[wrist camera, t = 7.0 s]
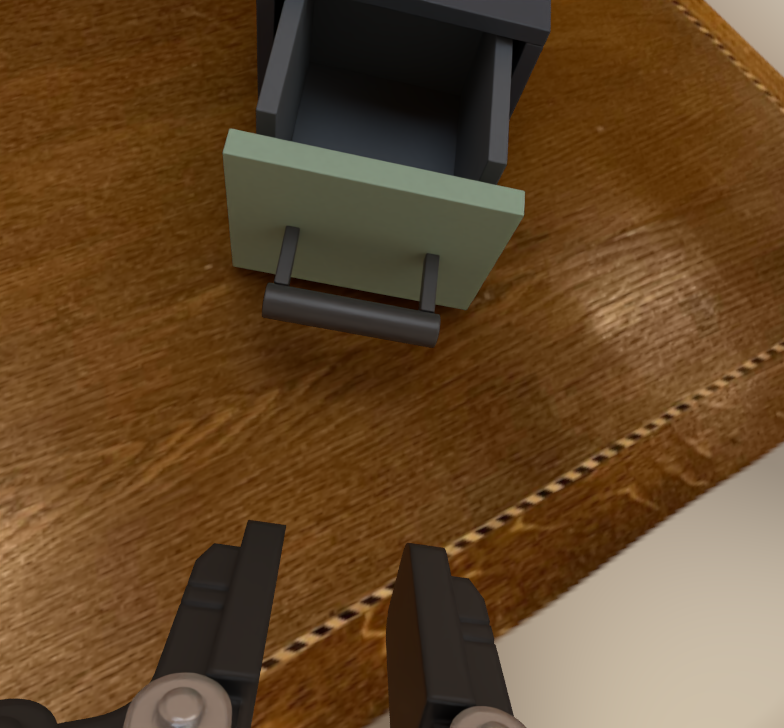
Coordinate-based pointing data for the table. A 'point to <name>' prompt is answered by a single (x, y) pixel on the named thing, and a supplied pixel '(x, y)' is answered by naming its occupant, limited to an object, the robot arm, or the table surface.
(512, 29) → the cabinet
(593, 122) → the table surface
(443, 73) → the drawer
